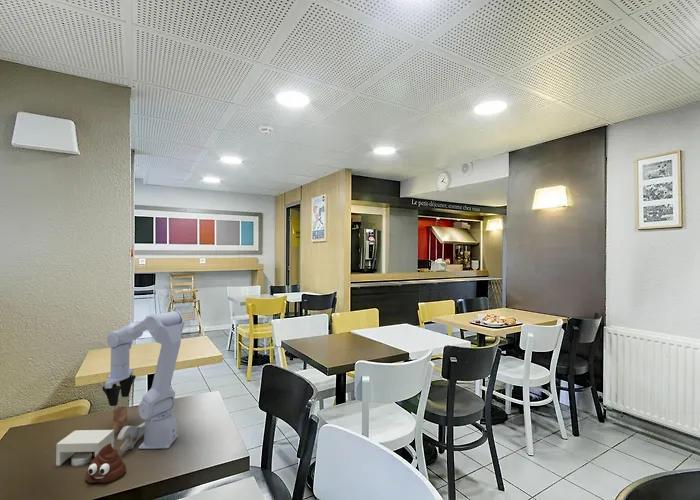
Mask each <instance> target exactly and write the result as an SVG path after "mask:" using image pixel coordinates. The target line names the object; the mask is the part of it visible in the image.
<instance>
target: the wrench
mask: <svg viewBox="0 0 700 500" xmlns="http://www.w3.org/2000/svg"><path fill="white" fill-rule="evenodd" d="M144 425H145V421H144V422H142V423H141V424H139V425H138V426H135V425H134V426H133V425H127V426H125V427H123V428H122V430H119V433H118V435H117V437H116V438H117V439H116V440H117V441H123V440H124V439H125V441H124V442H123V443H122V445H121V446H120V447H119V450H120V451H127V450H133V449H134V446H135V444H136V443H137V441H138V440H139V438H140V437H141V436H142V435H143V434H144Z"/></svg>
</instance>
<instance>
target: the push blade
mask: <svg viewBox="0 0 700 500" xmlns="http://www.w3.org/2000/svg"><path fill="white" fill-rule="evenodd" d="M125 426H128V406H117V407H116V408H115V409H113V411H112V429H111V430H114V435H115V434H117V433H118V432H120V431H121V430H122V428H123V427H125ZM77 453H79V452H77ZM92 457H95V452H92Z"/></svg>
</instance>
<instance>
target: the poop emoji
mask: <svg viewBox="0 0 700 500" xmlns="http://www.w3.org/2000/svg"><path fill="white" fill-rule="evenodd" d="M122 460H123V459H122V457H121V456H120V455H119V453H118V450H117V449H115V448H114V449H113V447H112V446H111V443H110V444H107V445H106V446H104V447H103V448H102V449H101V450H100V451H99V453H98V454H97V455H96V456H94V458H92V460H91V461H90V462H89V463H90V464H89V467H88V469H87V471H86V472H85V477H84V478H85V480H86V482H88V483H91V484H93V483H94V484H95V483H101V484H102V483H104V484H105V483H107V484H108V483H111V482H115V481H116V480H118V479H120V478H121V477H122V476H123V475H124V474H125V473H126V469H127V467H126V464H125V462H124V461H122Z"/></svg>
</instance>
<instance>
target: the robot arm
mask: <svg viewBox="0 0 700 500" xmlns="http://www.w3.org/2000/svg"><path fill="white" fill-rule="evenodd" d="M184 325H185V319H184V317H183V315H182V313H181V312H180V311H179V310H173V311H168V312H161V313H155V314H150V315H147V316H146V317H145V318H144V319H142V320H140V321H139V322H138V321H137V322H136V321H129V322H128V323H126V325H124V326H121V327H119V329H117V330H111V331H109V332H108V333H107V337H106V342H107V344H108V346H109V347H110V371H109V372H110V374H108V375H107V376H106V378H107V381H106V382H104V385H103V386H102V391H103V392H104V394H105V395H106V397H107V401H108V405H109V406H110V407H116V406H118V403H119V397H120V396H119V395H120V394H121V398H128V397H129V396H130V393H131V389H132V385H133V384H134V381H135V379H136V378H137V377H136V376H137V375H134V368H130V351H131V349H132V343H133V342H134V341H135V340H137V339H139V338H141V337H142V336H143V335H144V332H146V331H147V332H149V334H150V336H151V337H152V338H153V340H154V341H155V342H156V343H157V344H160V345H161V347H160V350H159V354H158V355H159V356H158V359H157V364H156V366H155V372H154V375H153V380H152V385H151V387H150V389H149V390H148V391H147V392H146V393H145V394H144V395H143V397H142V399H141V401H140V403H139V404H138V407H137V409H138V411H137V412H138V415H139V417H140V418H141V419H142V420H143V421H144V422H145V425H144V433H143V434H144V436H143V438H144V439H143V442H142V443H140V445H139V446H138V449H139V450H142V449H143V450H146V449H147V450H149V449H152V450H155V449H156V450H157V449H169V448H170V447H171V446H172V444H173V443H174V442H175V440H176V439H177V438H178V436H179V435H178V416H177V415H176V414H175V415H174V414H172V410H173V409H174V407H175V405H176V398H175V397H176V392H175V390H174V389H173V388H172V387H171V385H172V384H171V383H172V379H173V376H174V371H175V369H176V368H175V367H176V363H177V359H178V355H179V350H180V347H181V342H182V335H183V330H184ZM118 383H119V385H117V384H118Z"/></svg>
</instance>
